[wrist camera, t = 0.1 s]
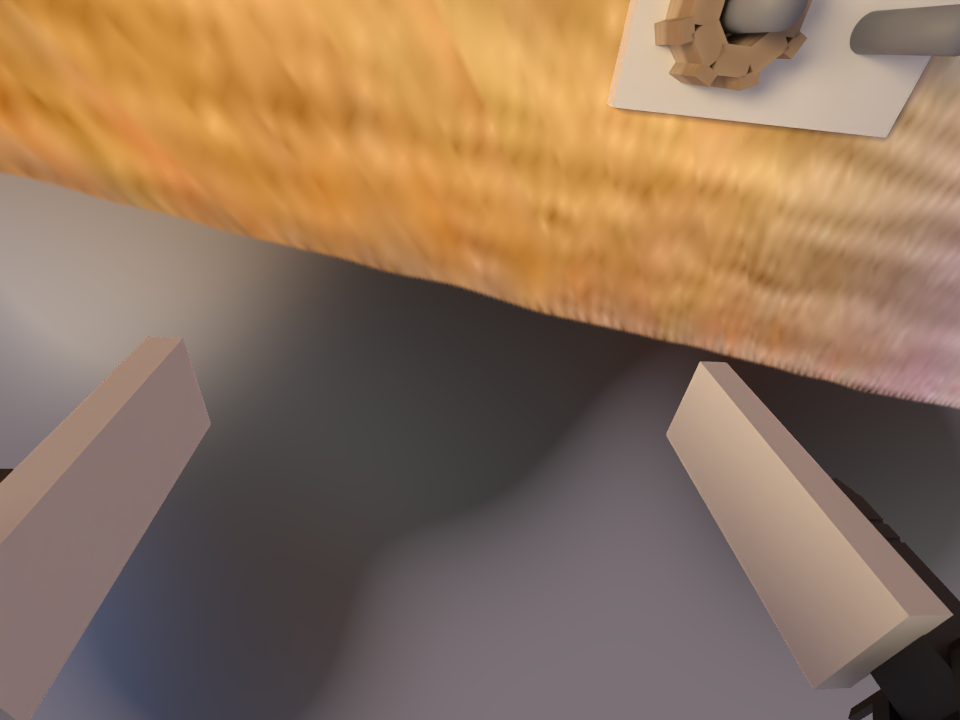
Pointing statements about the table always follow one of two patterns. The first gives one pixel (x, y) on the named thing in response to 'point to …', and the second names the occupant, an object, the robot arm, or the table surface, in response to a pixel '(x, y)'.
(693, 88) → the gear board
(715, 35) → the beech gear
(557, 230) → the table surface
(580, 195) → the table surface
